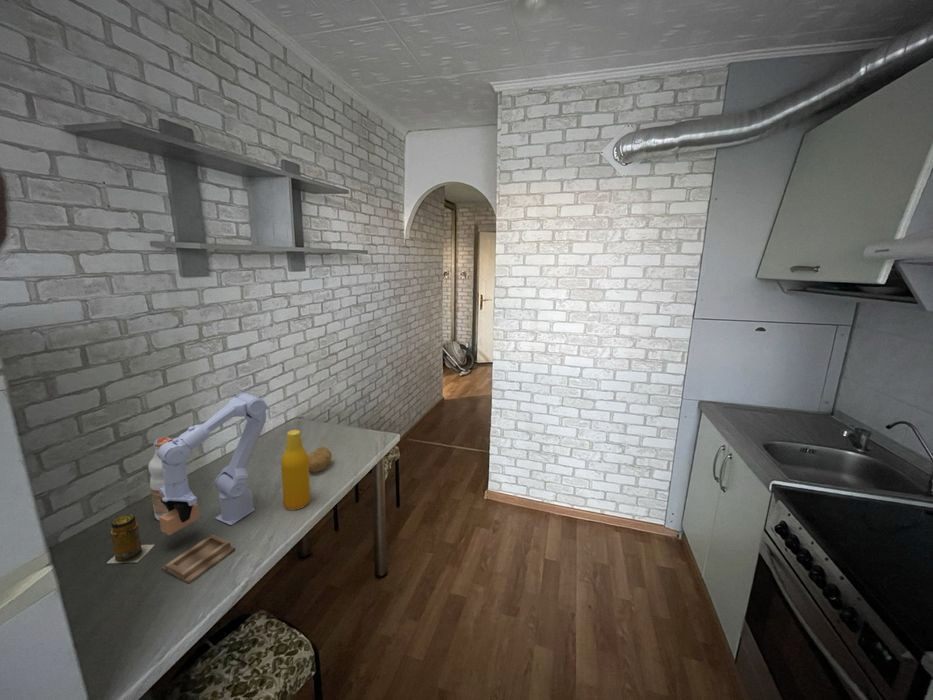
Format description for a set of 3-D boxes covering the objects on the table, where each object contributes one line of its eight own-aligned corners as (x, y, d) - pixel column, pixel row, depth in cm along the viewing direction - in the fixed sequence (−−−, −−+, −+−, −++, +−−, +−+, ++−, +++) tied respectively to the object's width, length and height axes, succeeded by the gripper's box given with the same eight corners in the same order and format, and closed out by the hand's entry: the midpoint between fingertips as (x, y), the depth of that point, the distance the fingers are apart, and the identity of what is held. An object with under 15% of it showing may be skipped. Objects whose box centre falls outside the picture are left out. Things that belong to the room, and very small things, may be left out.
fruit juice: (157, 509, 134) (146, 437, 128) (189, 501, 139) (181, 432, 133) (152, 525, 127) (141, 449, 120) (187, 516, 132) (178, 443, 125)
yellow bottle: (311, 507, 140) (308, 435, 134) (283, 513, 136) (279, 440, 130) (309, 493, 148) (306, 425, 142) (283, 499, 144) (279, 429, 138)
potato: (298, 475, 160) (297, 458, 158) (316, 459, 173) (316, 443, 172) (319, 479, 158) (318, 462, 156) (336, 462, 172) (336, 446, 170)
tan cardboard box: (191, 514, 124) (189, 500, 123) (199, 517, 123) (198, 504, 121) (161, 531, 116) (159, 517, 115) (169, 535, 114) (167, 520, 113)
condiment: (125, 545, 118) (119, 512, 115) (155, 545, 118) (150, 511, 116) (106, 564, 111) (99, 528, 108) (137, 563, 111) (131, 528, 109)
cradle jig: (208, 538, 122) (208, 532, 122) (235, 550, 118) (234, 544, 118) (161, 569, 110) (160, 562, 109) (189, 584, 106) (188, 577, 105)
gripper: (146, 480, 115) (151, 519, 118) (177, 493, 110) (182, 533, 113) (171, 469, 121) (176, 506, 124) (202, 480, 116) (206, 519, 119)
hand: (180, 518), depth 119 cm, fingers closed on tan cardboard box, 4 cm apart
